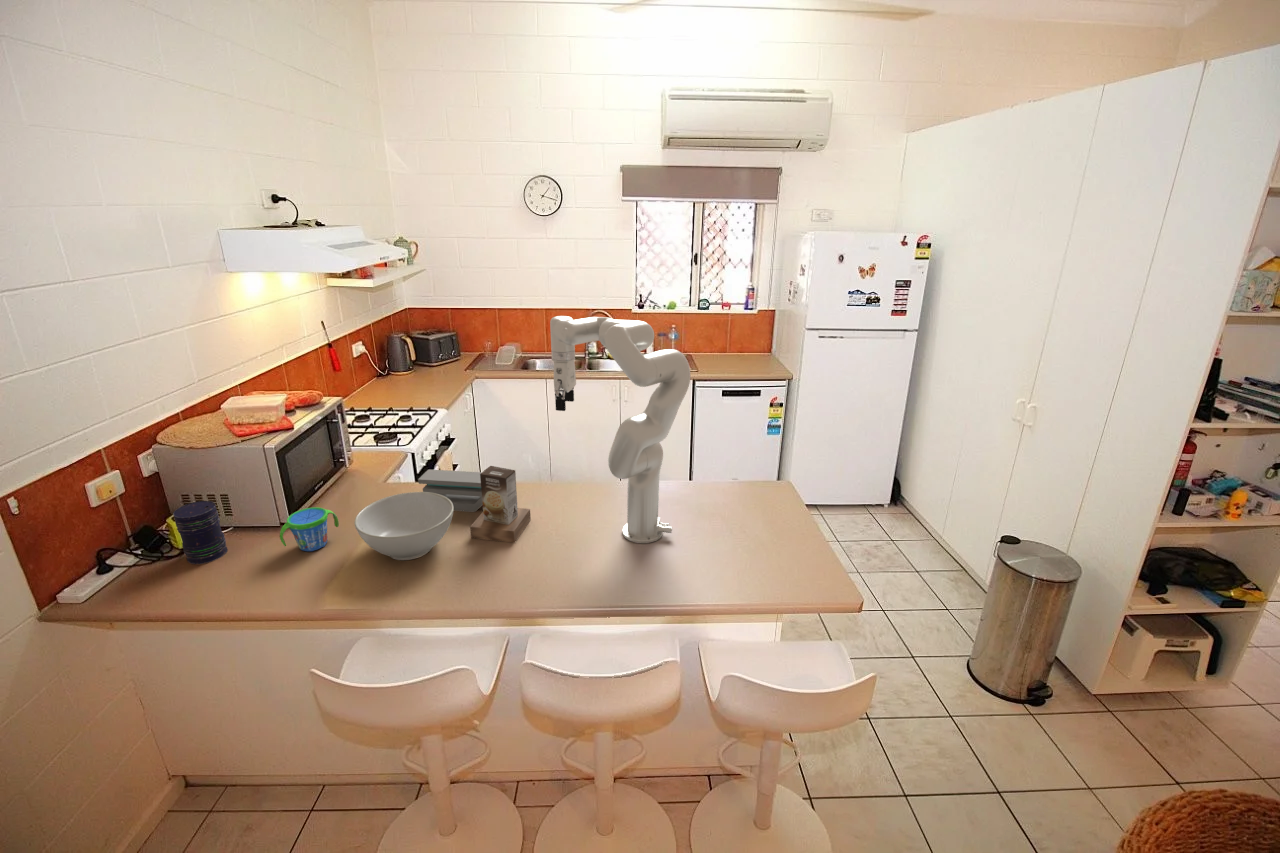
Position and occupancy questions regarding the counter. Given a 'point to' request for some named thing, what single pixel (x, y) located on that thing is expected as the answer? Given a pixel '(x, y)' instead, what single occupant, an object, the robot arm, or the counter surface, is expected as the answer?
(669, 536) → the counter surface
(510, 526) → the walnut riser
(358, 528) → the decorative bowl
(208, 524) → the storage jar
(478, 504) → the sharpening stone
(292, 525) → the snack cup
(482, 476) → the coffee box
